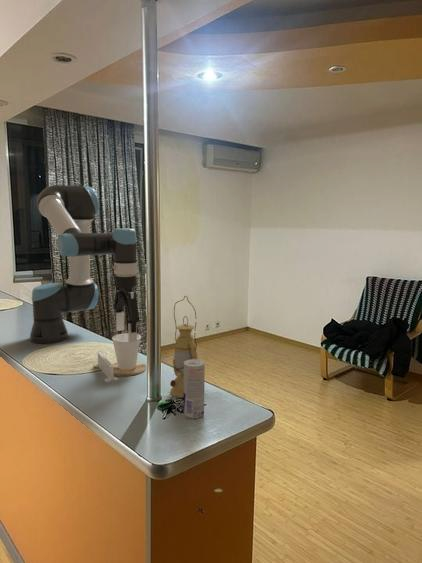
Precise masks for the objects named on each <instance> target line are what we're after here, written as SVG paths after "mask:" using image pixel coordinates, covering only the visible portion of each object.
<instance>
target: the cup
mask: <svg viewBox="0 0 422 563" xmlns="http://www.w3.org/2000/svg"><path fill="white" fill-rule="evenodd" d="M141 338H142V335H141V334H138V333H137V341H134V342H129V340H128V332H126V333H124V332H123V333H119V334H118V333H117V334H115V335H113V336H112V337H111V340H112V343H113V348H114V353H115V357H116V363H117V364H118V368H119V369H121V370H132V369H134V368H135V367H136V364H137V362H138V357H139V356H138V354H139V349H140V344H141V342H140V341H141Z"/></svg>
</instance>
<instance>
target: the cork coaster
mask: <svg viewBox="0 0 422 563" xmlns="http://www.w3.org/2000/svg"><path fill="white" fill-rule="evenodd" d="M111 364H112V363H111ZM112 365H113V372H114V376H115V377H133V376H137V375H140V374H142V373H144V372H146V370H147V365H146V363H143V362H140V361H137V364H136V367H135V368H134V369H132V370H121V369H119V368H118V364H117V362H115V363H113V364H112Z"/></svg>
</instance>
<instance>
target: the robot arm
mask: <svg viewBox="0 0 422 563" xmlns="http://www.w3.org/2000/svg"><path fill="white" fill-rule="evenodd" d="M36 206H37V207H36V208H37V210H38V211H39V213H40V215H41V216H43V217H45V218H46V219H47V221H48V222H49V223H50V225H51V228H52V229H53V230H54V232H55V233H56V235H57V239H56V246H57V249H58V251H57V252H58V254H59V255H60V256H62V257H68V258H69V261H68V262H69V264H68V265H69V266H68V267H69V273H68V274H69V276H68V278H67V279H66V280H65V285H62V284H61V282H48V283H44V284H40V285H38V286H36V287H34V288H33V289H32V291H31V301H32V316H33V323H32V327H31V330H30V335H29V340H30V342H31V343H34V344H43V345H44V344H53V343H58V342H62V341H64V340H67V339H68V338H69V331H68V329H67V327H66V324H65V321H64V316H63V314H65V313H72V312H74V313H75V312H82V311H83V312H84V311H88V310H93V309H95V307H96V306H97V304H98V301H99V288H98V285H97V284H96V283H95V282H94V280H93V278H92V277H91V256H101V255H103V256H105V255H107V256H108V255H113V265H112V266H111V268H112V269H113V274H114V276H113V285H114V287H115V297H114V304H113V310H115V311H114V312H115V323H116V324H115V326H116V327H115V330H116V332H119V331H120V332H121V331H125V312H126V314H127V317H128V321H127V325H128V326H127V327H128V329H127V333H128V340H129V342H134V341H137V334H138V323H140V316H139V309H138V302H137V293H136V291H133V288H136V287H137V284H138V280H137V279H138V278H137V275H136V274H138V262H137V249H138V248H137V246H138V245H137V244H138V243H137V242H138V240H137V231H136V229H134V228H127V227H125V228H124V227H123V228H114V229H113V231H107V232H92V233H91V223H92V222H93V221H94V220H95V216H96V215H98V214H99V213H100V212H99V211H100V202H99V196H98V193H97V192H96V190H95V189H94V188H93V187H91V186H88V185H87V186H85V185H65V184H53V185H50V186H49V185H48V187H47V186H46V187H45V188H44V189H42V190H41V191H40V193H39V195H38V197H37V199H36ZM125 309H126V311H125Z"/></svg>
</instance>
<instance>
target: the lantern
mask: <svg viewBox="0 0 422 563" xmlns="http://www.w3.org/2000/svg"><path fill="white" fill-rule="evenodd" d="M185 298H186V300H187V302H188V303H189V304H190V305H191V306H192V308H193V310H194V314H195V318H197V312H196V309H195V307H194V306H193V303H191V302H190V301H189V298H188V296H187V295H184V296H183V299H180V300H178V301H177V302H175V304H174V307H173V318H174V322H175V325H176V326H175V329H176V330H178V332H179V335H177V332H175V335H174V337H175V338H174V340H175V346H174V347H175V348H174V354H173V355H174V357H173V362H172V363H173V365H172V366H173V372H174V375H175V376H176V377H175V378H174V379H172V380H171V381H170V387H171V388H170V392H169V393H170V394H171V395H172V396H173V395H174V397H176V396H177V397H176V398H180V397H184V362H185V361H186V360H190V359H198V358H199V357H198V352H197V348H198V347H197V339H196V334H194V335H192V332H193V331H192V330H195V329H196V328H197V323H195V325H191V324H189V320H188V317H187V316H186V315H185V316H184V317H183V318H182V322H183V324H179V325H177V322H176V320H177V319H176V317H175V316H176V315H175V310H176V304H177V303H179V302H181V301H184V300H185ZM185 318H186V320H187V323H185V321H184V320H185ZM198 360H199V359H198Z"/></svg>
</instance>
